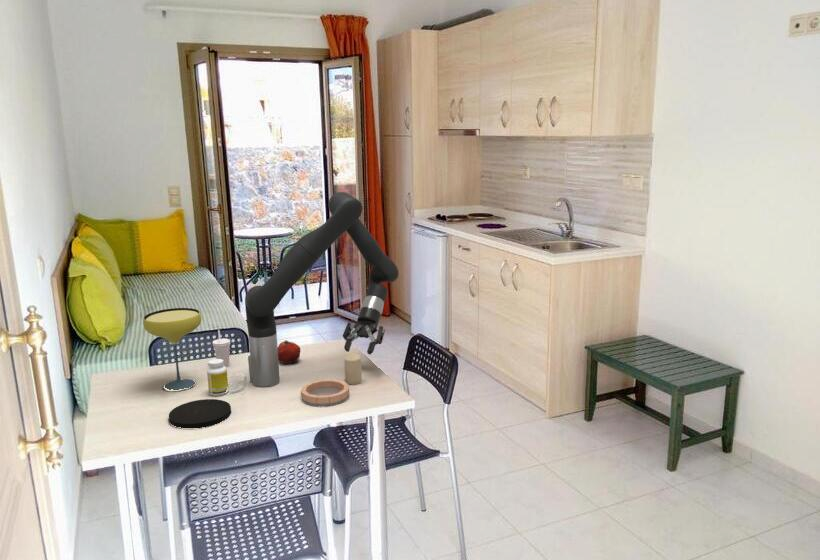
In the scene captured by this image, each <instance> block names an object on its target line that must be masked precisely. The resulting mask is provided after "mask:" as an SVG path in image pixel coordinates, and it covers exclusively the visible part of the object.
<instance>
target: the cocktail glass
mask: <svg viewBox="0 0 820 560" xmlns="http://www.w3.org/2000/svg"><path fill="white" fill-rule="evenodd" d="M201 322H202V315H201V312H200V310H198V309H196V308H193V307H192V308H191V307H190V308H189V307H175V308H174V307H173V308H166V309H160V310H156V311H153V312H150V313H147V314H146V315H144V317H143V318H142V325H143V329H144V330H145V331H146V332H147V333H148V334H151V335H152V336H154V337H155V336H156V337H159V338H162V339H165V340H167V341H168V342H170V344H172V345H173V346H174V356H175V357H174V358H175V366H176V368H175V369H176V379H175V381H174V380H171V381H172V382H171V381H168V382H169V383H168V382H167V384H166V383H165V384H166V385H165V388H167V389H169V390H171V389H173V390H179V389H184V388H189V387H191V386H193V385H194V384H195V382H196V381H195V380H194V381H195V382H194V381H193V379H190V380H189V378H185V379H184V378H181V374H180V368H179V362H178V361H179V360H178V351H177V350H178V349H177V344H178V343H179V342H180V341H181V339H182V338H183V337H184V336H186V335H189V334H190V333H191V332H193V331H195V330H196V329H197V328H198V327H199V326H200V325H201ZM181 379H183V380H181Z"/></svg>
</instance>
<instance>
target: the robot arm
mask: <svg viewBox="0 0 820 560" xmlns="http://www.w3.org/2000/svg"><path fill="white" fill-rule="evenodd" d="M327 206H328V210H329V212H330V214H331V216H330V217H329V218H328V219H327V220H326V221H325V222H324V223H323V224H322V225H320V226H319V227H318V228H317V227H316V229H313V230H311V231H310V232H308V233H306V234H304V235H303V236H301V237H300V238H299V239H298V240H297V241H295V243H294V244H293V245H292V246H291V247H290V248H289V249H288V250H287V252H286V253H285V255H284V257H282V259H281V260H280V263H279V264H278V267H277V268H276V269H275V271H274V273H273V274H272V275H271V277H270V278H269V279H268V280H266V282H265V283H264V284H262V285H255V286H253V287H251V288H250V289H248V290H247V292H246V294H245V298H244V306H245V315H246V316H245V317H246V326H247V332H248V344H249V345H248V346H249V355H248V357H247V363H248V375H249V376H248V377H249V384H252V385H253V386H255V387H259V388H264V387H265V388H266V387H267V388H268V387H271V386H275V385H277V384H279V383H280V379H281V378H280V365H279V364H280V363H279V362H280V361H279V360H278V346H279V345H278V334H277V324H276V319H275V309H276V308H277V307H278V306H279V304H280V302H281V301H282V300H283V298H284V297H285V296H286V294H287V293H288V292H289V291H290V290H291V289H292V287H293V286H294V285H296V284H297V282H299V280H301V278H303V276H304V275H305V274H306V273H307V272H308V271H309V270H310V269H311V268H312V267H313V266H314V265H315V264H316V263H317V262H318V261H319V259H320V258H321V257H322V256H323V254H325V252H326V251H327V250H328V249H329V248H330V247H331V246H332V245H333V244H334V243H335V242H336V240H337V239H338V238H339V237H340V236H342V235H343V234H345V232H347V234H348V235H349V237H350V238H351V240H352V242H353V243H354V245H355V246H356V248H357V249H358V251H359V253H360V255H361V256H362V258H363V260H364V261H365V262H366V264H367V265H368V266H370V270H369V272H368V273H369V274H368V289H367V293H366V295H365V298H364V300H363V302H362V305H361V307H360V311H359V314H358V317H357V318H356V319H357V320H356V321H357V322H356V323H355V324H353V323H351V322H347V324H346V327H345V328H344V331H343V333H342V338H343V339H344V340H345V343H344V347H343V348H344V351H345V352H346V353H347V352H348V353H350V350H351V346H352V343H353V341H355V340H357V339H358V338H362V339H363V338H365V339H370V342H369V344H368V348H367V350H366V351H367V354H368V355H370V356H371V355H372V354H374V351H375V347H376V345H381V344H382V343H383V340H384V336H385V332H386V330H385V328H384V326H383V325H380V326H379V324H380V323H379V322H380V320H381V317H382V314H383V310H384V305H385V302H386V299H387V296H388V288H387V287H386V286H385V285H383V284H384V283H393V282H395V281H396V280H397V279H398V277H399V269H398V266H397V264H396V263H395V262H394V261H393V260H392V259H391V258H390V257H389V256H388V255H387V254H386V253H385V252H383V250H382V248H381V247H380V245H379V243H378V241H377V240H376V238H375V237H374V236H373V234H371V232H370V231H369V230H368V229H367V227H366V226H365V225H364V224H363V222H362V221H361V220H360V218H361V215H362V213H363V204H362V202H361V200H359V199H358V198H356V197H355V196H353V195H351V194H349V193H347V192H344V191H338V192H335V193H334V194H332V195H331V196H330V198H329V200H328V205H327ZM382 283H383V284H382ZM376 332H377V334H376V338H375V336H374V334H375V333H376Z"/></svg>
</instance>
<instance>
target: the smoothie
mask: <svg viewBox="0 0 820 560" xmlns="http://www.w3.org/2000/svg"><path fill="white" fill-rule="evenodd" d="M217 333H218V338H217V339H214V340H212V346H213V350H214V352H215V353H214V354H215V359H223V361H224V365H223V366H225V367H226V368H228V367H229V366H230V348H231V343H232V342H231V339H230V338H221V331H220V329H217Z"/></svg>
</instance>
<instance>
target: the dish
mask: <svg viewBox="0 0 820 560" xmlns="http://www.w3.org/2000/svg"><path fill="white" fill-rule="evenodd" d="M300 397H301V401H302V403H304V404H306V405H309V406H312V407H319V406H320V408H321V407H322V406H324V407H330V406H331V405H332V406H335V405H336V404H337V405H339V403H340V404H342V403H344V402H346V401H347V400H348V399H349V398H348V397H350V384H347V383H346V382H345V381H344V380H339V379H332V378H331V379H319V380H315V381H310V382H308V383H307V384H305V385H303V386H302V387H301V389H300ZM347 398H348V399H347ZM346 399H347V400H346ZM345 400H346V401H345ZM341 402H342V403H341ZM337 405H336V406H337ZM332 406H331V407H332Z"/></svg>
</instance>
